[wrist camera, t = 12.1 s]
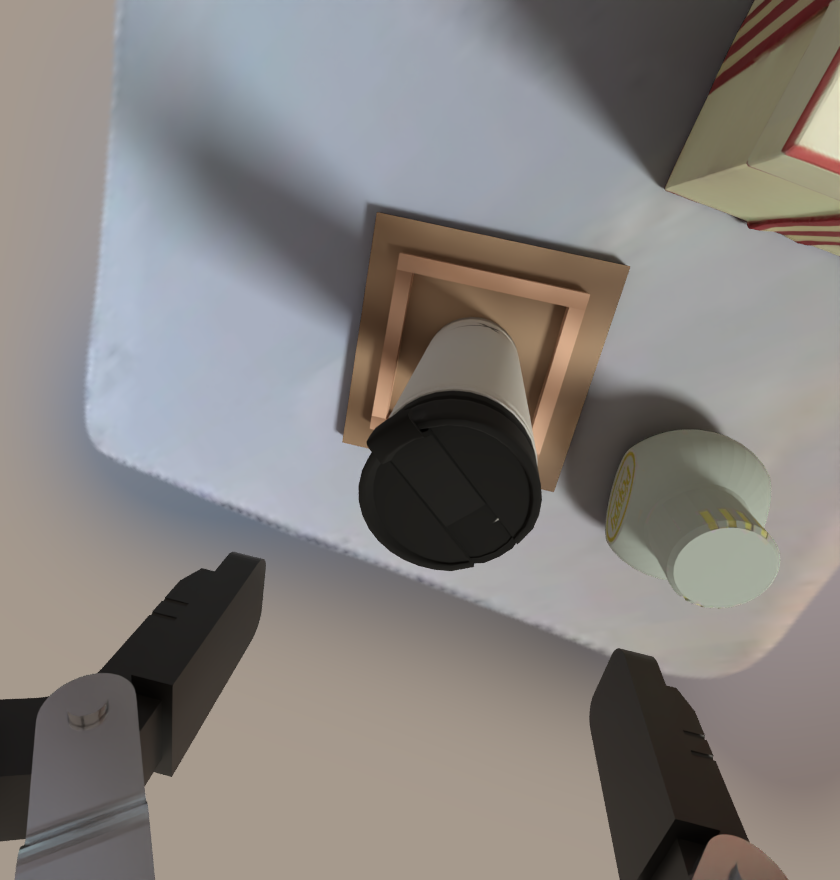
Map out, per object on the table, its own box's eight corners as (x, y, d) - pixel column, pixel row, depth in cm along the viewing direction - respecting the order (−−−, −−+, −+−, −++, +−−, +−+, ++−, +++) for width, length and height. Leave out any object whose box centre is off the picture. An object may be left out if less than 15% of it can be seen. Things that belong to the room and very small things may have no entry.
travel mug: (481, 292, 33) (467, 371, 15) (536, 375, 35) (583, 537, 17) (404, 347, 35) (309, 475, 17) (459, 423, 37) (425, 615, 19)
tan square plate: (380, 212, 33) (373, 211, 32) (626, 265, 33) (634, 267, 31) (345, 437, 40) (338, 447, 38) (552, 485, 39) (555, 498, 37)
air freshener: (630, 408, 36) (678, 468, 27) (754, 426, 36) (845, 494, 26) (592, 540, 40) (622, 632, 31) (702, 558, 40) (765, 657, 31)
